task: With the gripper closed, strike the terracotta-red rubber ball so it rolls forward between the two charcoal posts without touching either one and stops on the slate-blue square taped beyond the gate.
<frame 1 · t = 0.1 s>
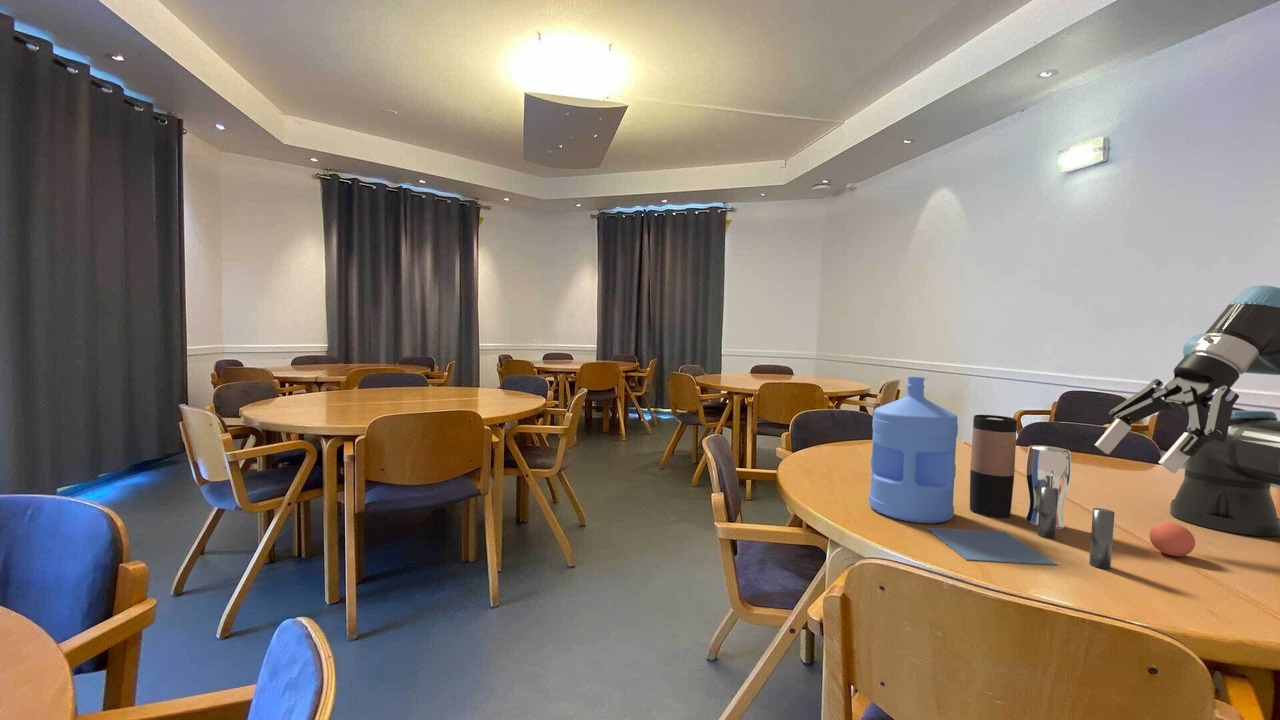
hand: (1131, 458, 95), 15 cm above the table, tool tilted 35°, fingers open, 13 cm apart
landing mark: (986, 545, 93), on the table
travel mug: (989, 513, 111), on the table
water jug: (909, 512, 110), on the table
ball: (1171, 539, 90), on the table
post 2: (1099, 565, 85), on the table
beer glass: (1044, 525, 104), on the table
post 1: (1046, 535, 98), on the table
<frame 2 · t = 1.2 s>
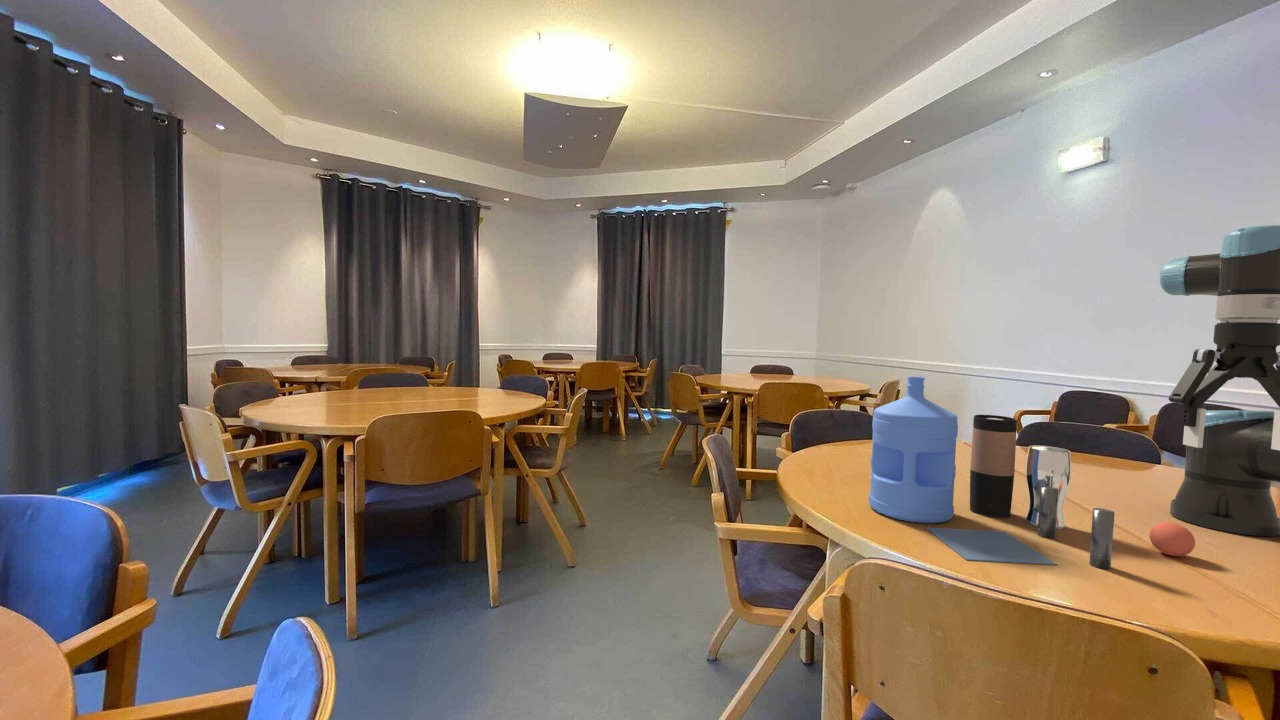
hand: (1236, 448, 89), 19 cm above the table, tool pointing down, fingers open, 13 cm apart
nothing on the table moved.
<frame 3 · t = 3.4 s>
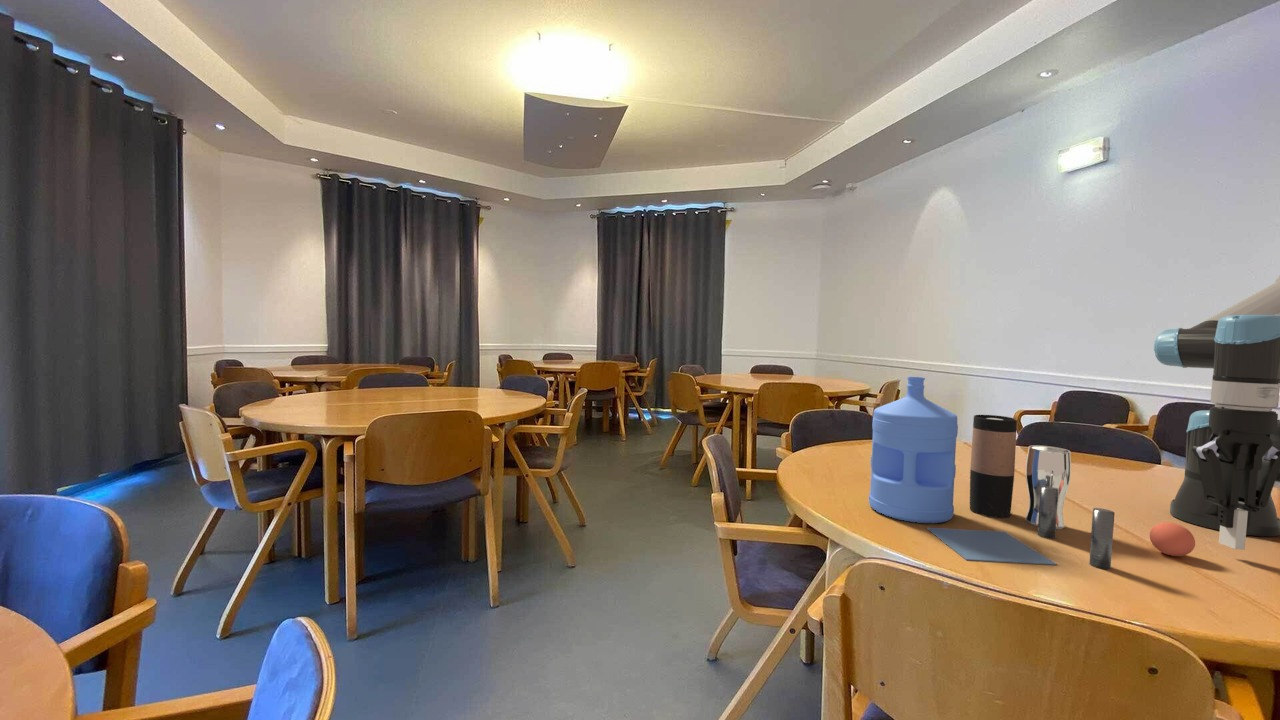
hand: (1231, 546, 89), 2 cm above the table, tool pointing down, fingers closed
nothing on the table moved.
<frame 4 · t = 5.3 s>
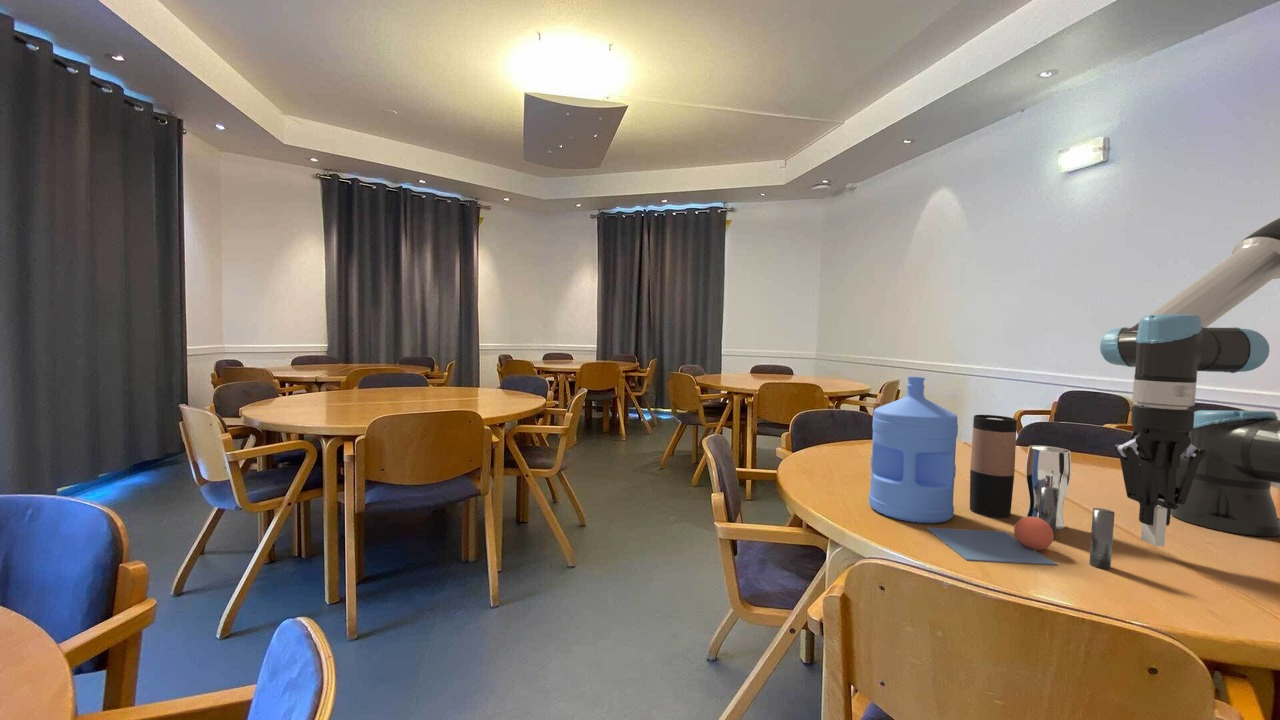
hand: (1152, 543, 90), 2 cm above the table, tool pointing down, fingers closed
ball: (1033, 533, 91), on the table
everything else where it was.
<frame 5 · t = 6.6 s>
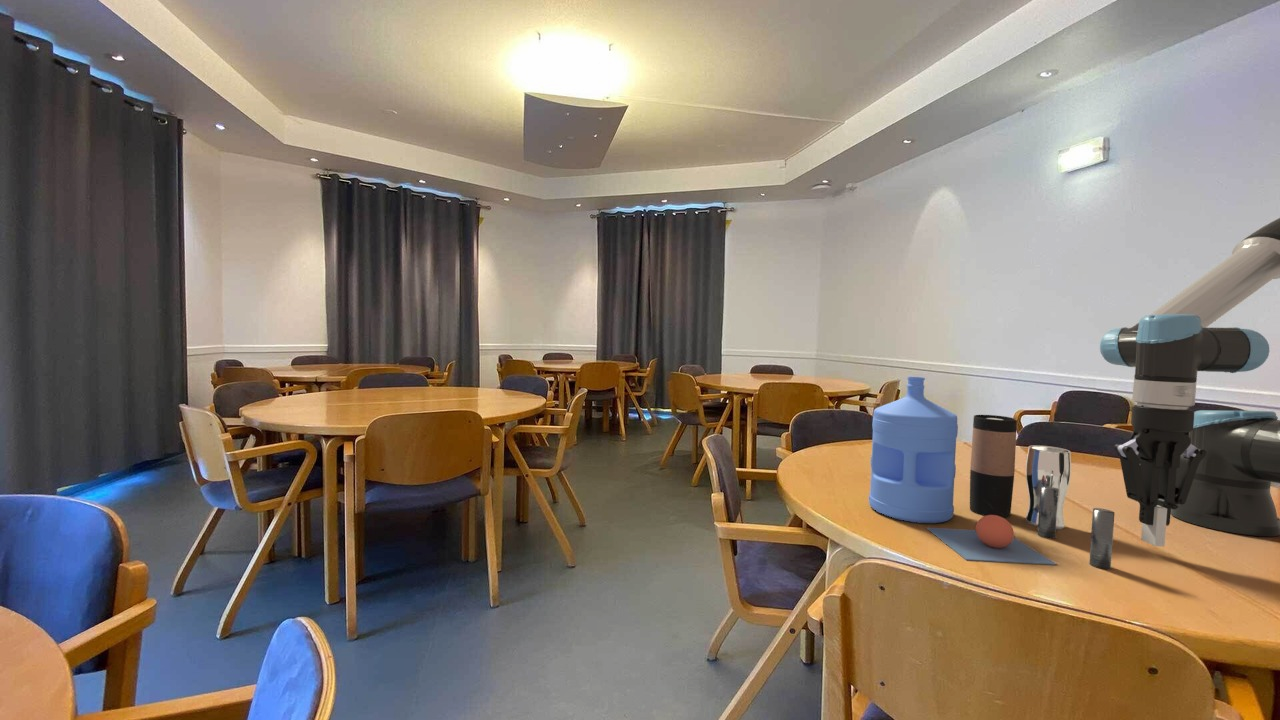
hand: (1152, 543, 90), 2 cm above the table, tool pointing down, fingers closed
ball: (994, 531, 92), on the table
everything else where it was.
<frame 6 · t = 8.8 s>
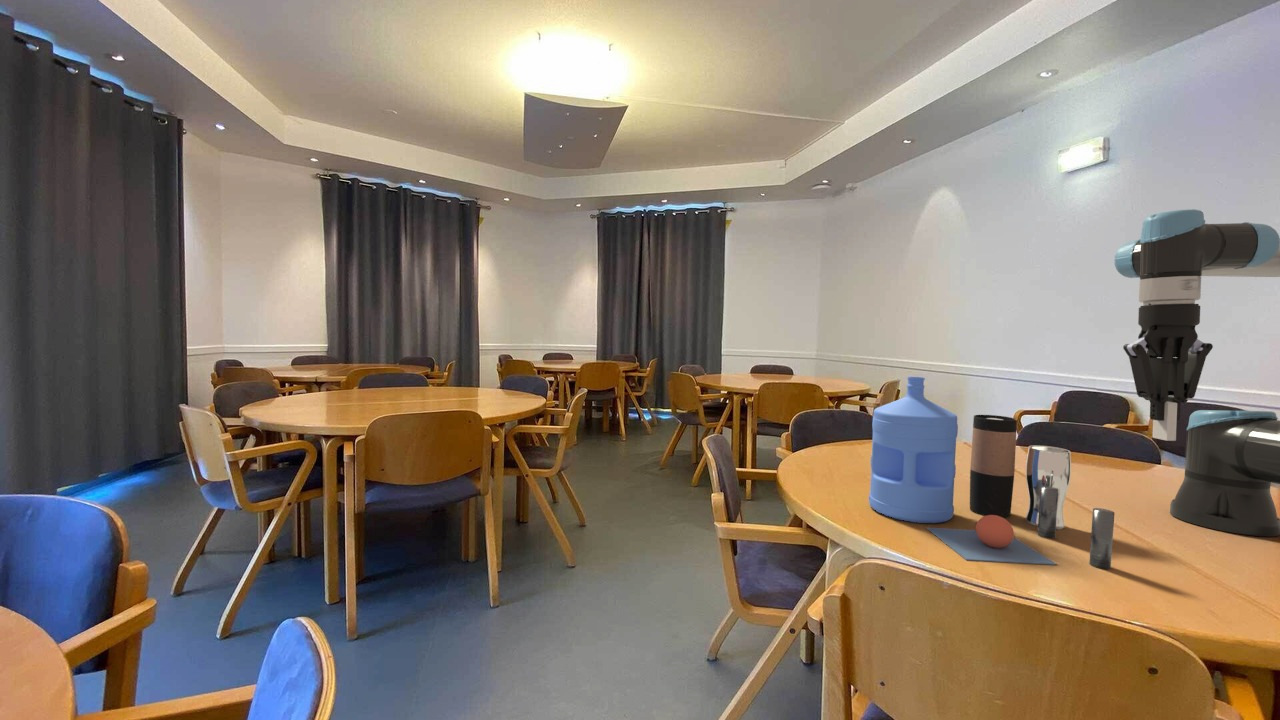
hand: (1164, 438, 92), 19 cm above the table, tool pointing down, fingers closed
nothing on the table moved.
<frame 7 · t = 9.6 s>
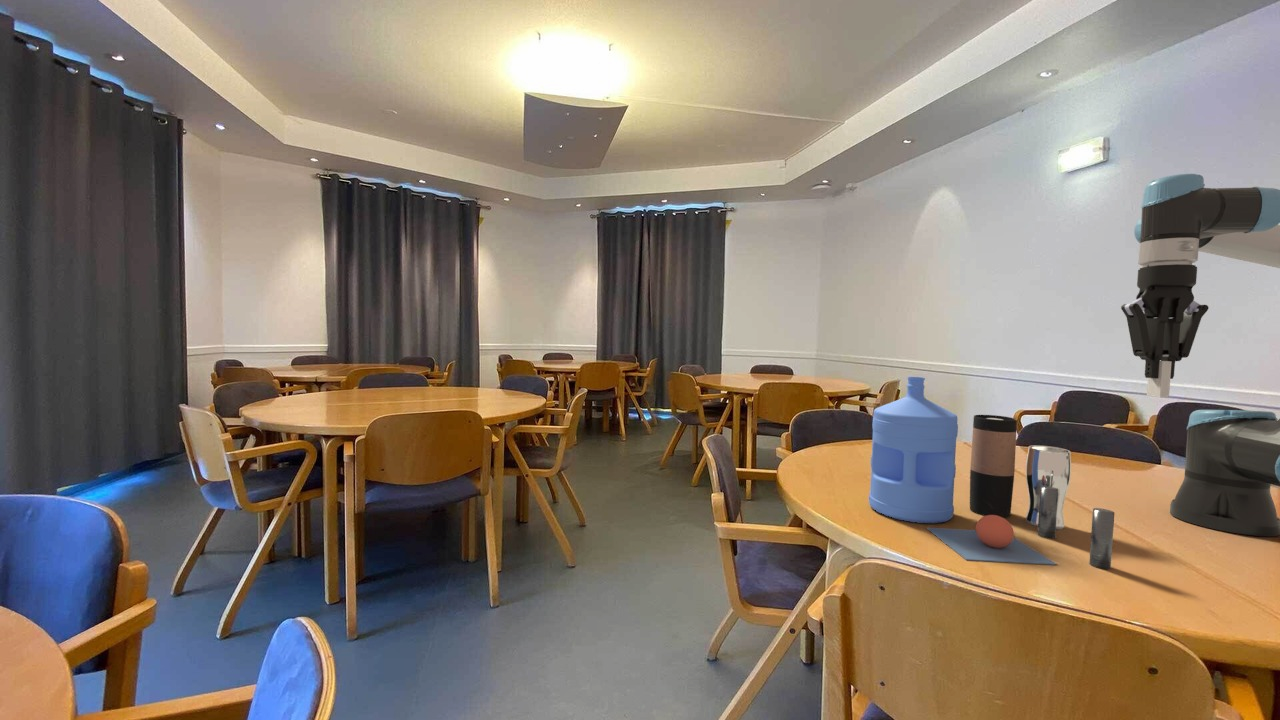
hand: (1157, 396, 96), 26 cm above the table, tool pointing down, fingers closed
nothing on the table moved.
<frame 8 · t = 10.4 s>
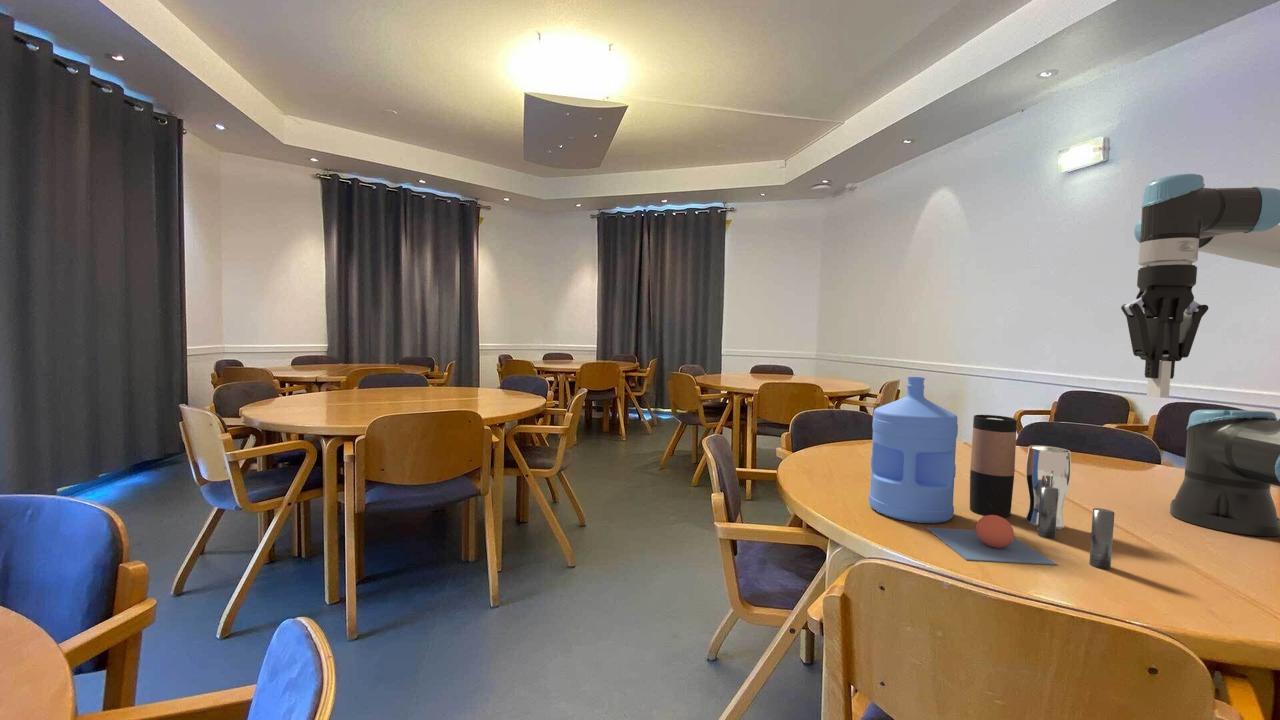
hand: (1157, 396, 96), 26 cm above the table, tool pointing down, fingers closed
nothing on the table moved.
at the end: ball 1.0 cm from the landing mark (horizontally); ball never touched post 2; ball never touched post 1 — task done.
